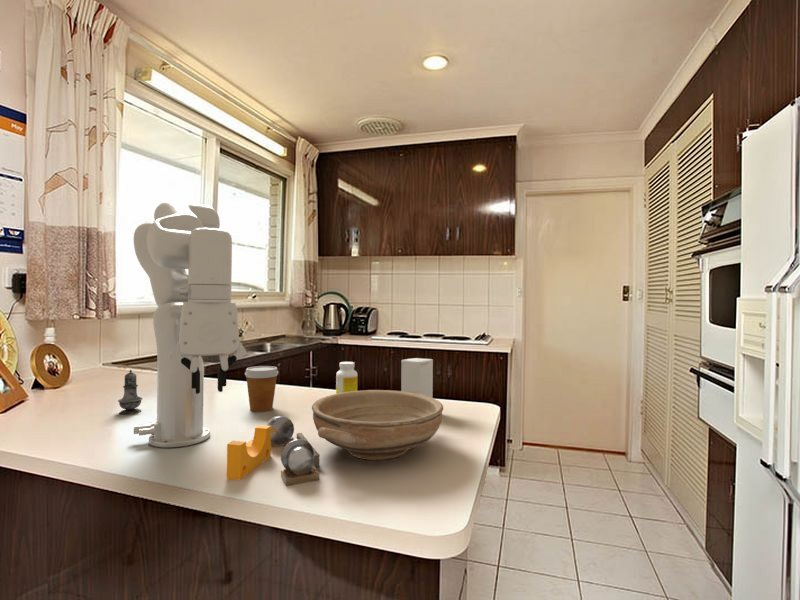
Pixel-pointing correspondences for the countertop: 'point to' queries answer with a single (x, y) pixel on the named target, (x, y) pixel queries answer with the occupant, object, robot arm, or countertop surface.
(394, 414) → the ceramic bowl
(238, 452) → the pipe clamp
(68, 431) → the countertop surface
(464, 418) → the countertop surface
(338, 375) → the supplement bottle
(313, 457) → the pipe run
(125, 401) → the salt shaker
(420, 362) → the skincare box
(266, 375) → the disposable coffee cup
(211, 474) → the countertop surface
